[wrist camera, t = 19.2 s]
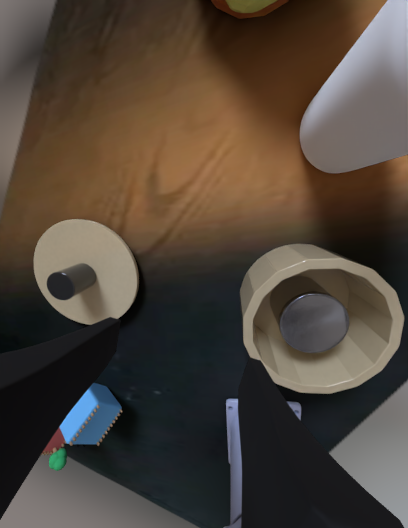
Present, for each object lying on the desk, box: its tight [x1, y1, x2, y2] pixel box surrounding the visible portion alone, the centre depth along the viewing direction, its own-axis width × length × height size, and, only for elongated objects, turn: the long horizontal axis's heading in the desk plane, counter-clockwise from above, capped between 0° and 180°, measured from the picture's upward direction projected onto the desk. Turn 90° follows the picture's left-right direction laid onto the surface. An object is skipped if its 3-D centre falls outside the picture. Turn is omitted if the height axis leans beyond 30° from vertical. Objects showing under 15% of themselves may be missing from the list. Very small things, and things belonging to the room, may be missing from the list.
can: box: [300, 0, 408, 173], centre depth 11 cm, size 6×6×12 cm
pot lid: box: [34, 219, 139, 325], centre depth 21 cm, size 11×11×4 cm
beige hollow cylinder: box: [240, 244, 404, 394], centre depth 18 cm, size 10×10×6 cm
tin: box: [270, 276, 349, 353], centre depth 18 cm, size 5×5×4 cm
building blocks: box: [41, 383, 123, 471], centre depth 24 cm, size 8×8×12 cm
